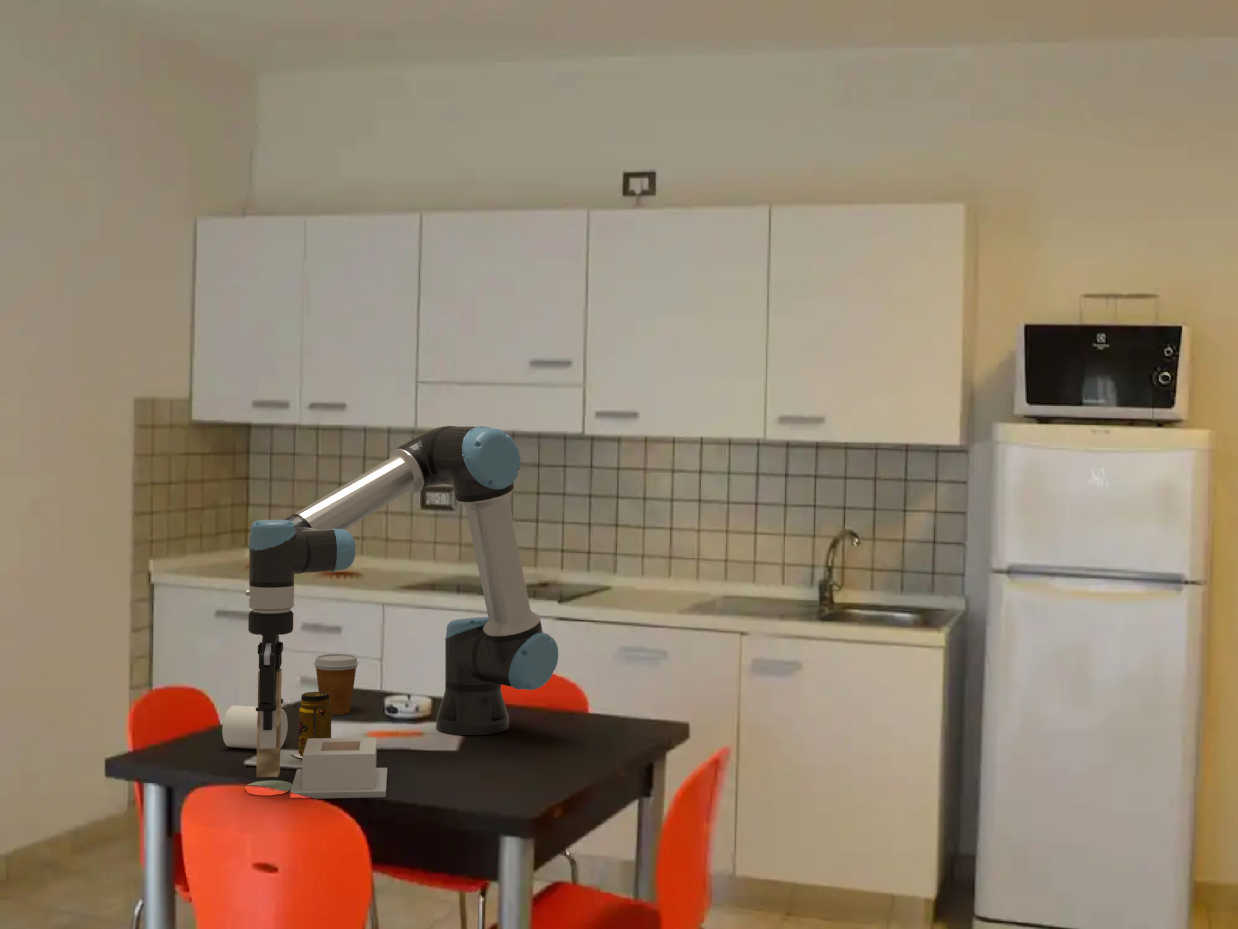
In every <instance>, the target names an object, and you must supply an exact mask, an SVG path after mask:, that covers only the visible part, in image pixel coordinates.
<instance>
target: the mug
mask: <svg viewBox="0 0 1238 929" xmlns="http://www.w3.org/2000/svg"><path fill="white" fill-rule="evenodd" d="M256 708H258V706H248V705H231V706H230V707H229V708H228V709H227V711H226V713H225V715H224V717H223V722H222V728H221V729H222V731H221V732H222V733H221V734H222V738H223V739H222V740H223V742H224V743H225V745H226V746H227V747H229V748H237V749H252V750H257V714H258V711H256ZM288 724H289V723H288V716H287V713H286V712H285V710H284V709H282V708H281V737H280V749H282V747H283V746H284V744H285V741H286V738H287V735H288V728H289V727H288V726H289V725H288Z"/></svg>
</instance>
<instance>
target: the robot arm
mask: <svg viewBox="0 0 1238 929" xmlns="http://www.w3.org/2000/svg"><path fill="white" fill-rule="evenodd" d="M520 454H521V453H520V450H519V448H518V446H517V443H516V442H515V441H514V439H513V438H512V437H511V435H509V434H508V433H507V432H505V431H504V430H501V429H499V428H492V427H489V426H455V425H447V426H446V425H445V426H439V427H436V428H433V429H431V430H429V431H427V432H424V433H421V435H418V436H416V437H415V438H412V439H411V440H409V441H407V442H405V443H403V444H402V445H400V446H399V447H397V448H395V449H393V450H392V451H391V452H390V454H389V456H388V459H386V460H384V461H383V462H381V463H379V464H378V465H376V466H374V467H372V468H370V469H369V470H368V471H365V472H364V473H362V474H361V475H359V476H357V477H355V478H353V479H352V480H351V481H349V482H347V483H345V484H343V485H341V486H340V487H338V488H337V489H335V490H333V491H331V492H330V493H328V494H326V495H325V496H322V497H321V498H319V499H318V500H316V501H313V503H311V504H309V505H307V506H305V507H304V508H302V509H300V510H298V511H296V512H295V513H293V514H292V515H290V516H289V515H288V517H286V518H284V519H261V520H260V519H259V520H256V521H254V522H253V523H252V524H251V526H250V531H249V541H248V542H249V543H248V549H249V555H248V556H249V557H248V558H249V559H248V560H249V561H248V563H249V566H248V570H249V571H248V576H249V577H248V580H249V583H248V584H249V586H248V589H249V590H245V593H244V594H245V596H246V597H249V599H248V607H249V608H250V609H251V610H250V611H249V613H248V619H247V620H248V623H247V626H248V632H249V633H250V634H252V635H257V636H259V635H261V636H262V639H261V640H262V641H260V642H259V643H258V645H257V654H258V671H259V670H260V691H259V708H256V711H260V748H259V749H276V723H277V710H275V709H276V672H277V670H279V669H281V666H282V663H283V660H282V659H283V656H282V655H283V654H282V653H283V651H284V642H283V641H280V635H281V636H282V635H283V636H284V635H288V634H291V633H292V632H293V630H294V612H293V610H291V609H292V608H294V606H295V574H297V575H299V574H307V573H324V572H331V573H335V572H338V571H345V570H347V569H348V568H350V567H351V566H352V564H353V563H354V561H355V558H356V553H357V552H356V547H357V546H356V542H355V539H354V535H352V534H351V533H350V532H349V530H348V529H349V528H351V527H352V526H354V525H356V524H357V523H359V522H360V521H362V520H364V519H366V518H367V517H369V516H371V515H372V514H374V513H376V512H377V511H379V510H381V509H382V508H385V507H386V506H387V505H389V504H391V503H392V502H394V501H396V500H397V499H399V498H401V497H402V496H404V495H406V494H407V493H411V494H417V493H419V492H421V491H422V490H424V489H426V488H429V487H433V486H437V485H452V487H453V493H454V497H455V501H456V503H458V504H459V505H461V506H463V507H464V508H465V511H466V517H467V521H468V526H469V532H470V536H471V540H472V545H473V551H474V554H475V555H474V556H475V559H476V564H477V569H478V570H477V571H478V574H479V579H480V584H481V588H482V594H483V599H484V603H485V608H486V612H487V616H481V617H480V616H479V617H470V618H459V619H454V620H451V621H450V622H448V624H447V626H446V632H445V635H446V636H445V638H444V641H445V647H444V649H445V655H444V656H445V666H444V667H445V670H444V671H445V672H444V673H445V680H444V681H445V682H444V683H445V686H444V689H445V690H444V693H443V696H442V698H441V702H440V704H439V709H438V710H437V713H436V714H437V715H436V718H435V719H436V720H435V722H436V723H435V728H436V730H438V731H439V730H440V731H439V732H443V733H445V734H446V733H447V734H451V735H452V734H453V735H461V736H484V735H493V734H497V733H499V734H500V733H502V732H505V731H507V730H508V729H509V728H510V717H509V713H508V709H507V707H506V703H505V700H504V697H503V692H502V686H506V687H511V688H513V689H515V690H527V691H534V690H536V689H540V688H542V687H543V686H544V685H545V684H547V683H548V681H549V680H551V678H552V677H553V674H554V672H555V670H556V668H557V665H558V660H559V646H558V643H557V641H556V640H555V639H554V637H552V636H551V635H550V634H548V633H545V632H543V628H542V623H541V618H540V616H539V615H538V614H537V613H535V612H534V611H533V610H531V606H530V600H529V595H528V590H527V585H526V581H525V575H524V570H523V565H522V561H521V556H520V549H519V546H518V541H517V535H516V531H515V526H514V525H515V524H514V520H513V515H512V510H511V505H510V501H509V499H510V497H511V495H512V494H513V492H514V491H515V486H514V485H515V484H514V482H515V481H516V479H517V478H518V476H519V473H518V471H520V469H521V464H522V463H521V455H520ZM282 704H284V698H281V705H282Z"/></svg>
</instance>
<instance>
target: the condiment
mask: <svg viewBox="0 0 1238 929" xmlns="http://www.w3.org/2000/svg"><path fill="white" fill-rule="evenodd" d="M329 697H330V696H329V694H328V693H326V692H319V691H308V692H304V693H302V694H301V703H300V705H301V706H300V708H299V710H298V754H300V756H302V757H303V753H304V749H305V746H306V743H307V740H308V739H310V738H332V715H331V708H330V706H329V704H330V701H329Z"/></svg>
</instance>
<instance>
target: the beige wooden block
mask: <svg viewBox="0 0 1238 929" xmlns="http://www.w3.org/2000/svg"><path fill="white" fill-rule="evenodd" d="M282 671H283V670H282V668H280V669H279V670H277V672H276V709H275V710H277V723H276V749H259V748H260V711H258V714H257V749H256V771H255V772H256V773H255V774H256V775H255V776H256V778H278V777H279V776H280V772H281V748H280V737H281V709H282V704H281V699H282V676H283V675H282ZM259 691H260V670H259V669H258V672H257V707H258V708H259Z"/></svg>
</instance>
